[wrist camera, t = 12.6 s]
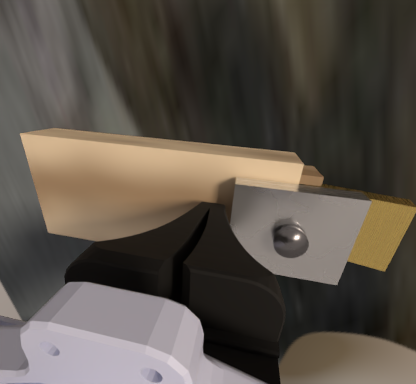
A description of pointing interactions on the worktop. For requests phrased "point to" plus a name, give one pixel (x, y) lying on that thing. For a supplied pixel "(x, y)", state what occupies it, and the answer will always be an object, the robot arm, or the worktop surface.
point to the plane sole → (141, 179)
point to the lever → (380, 229)
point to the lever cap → (298, 227)
